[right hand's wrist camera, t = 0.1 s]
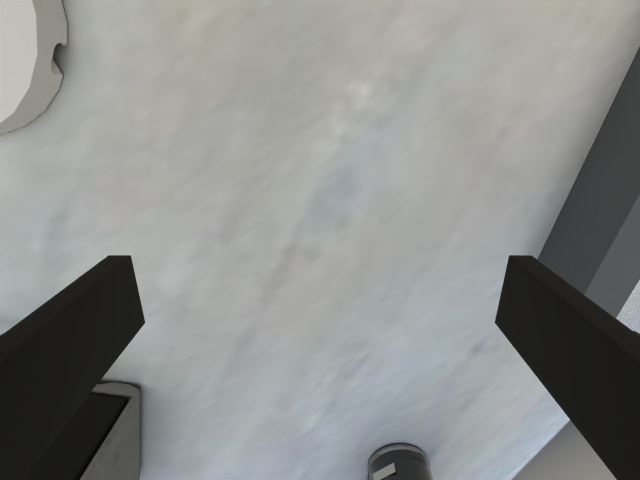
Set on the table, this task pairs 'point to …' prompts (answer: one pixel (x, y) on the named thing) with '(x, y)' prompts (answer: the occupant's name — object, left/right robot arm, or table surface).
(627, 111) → the bar
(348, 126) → the table surface
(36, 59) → the ashtray
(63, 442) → the grey tool box
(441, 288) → the table surface
